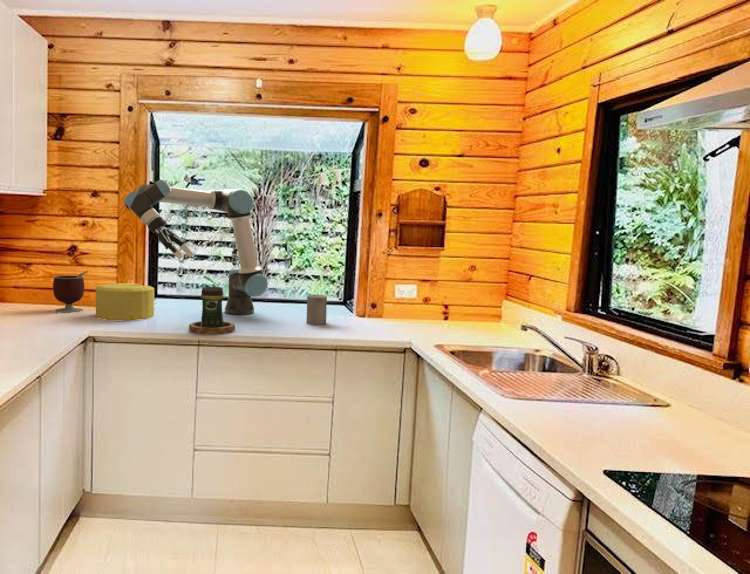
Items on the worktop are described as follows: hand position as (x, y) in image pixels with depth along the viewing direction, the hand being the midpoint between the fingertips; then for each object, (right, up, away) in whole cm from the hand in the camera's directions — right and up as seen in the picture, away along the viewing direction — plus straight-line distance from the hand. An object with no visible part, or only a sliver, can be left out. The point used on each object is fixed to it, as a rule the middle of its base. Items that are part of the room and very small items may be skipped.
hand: (187, 256), depth 267 cm
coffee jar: (+12, -32, -2) cm, 34 cm away
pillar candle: (+55, -32, +27) cm, 69 cm away
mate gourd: (-68, -26, +31) cm, 79 cm away
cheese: (-37, -28, +23) cm, 52 cm away
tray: (+12, -33, -2) cm, 35 cm away
